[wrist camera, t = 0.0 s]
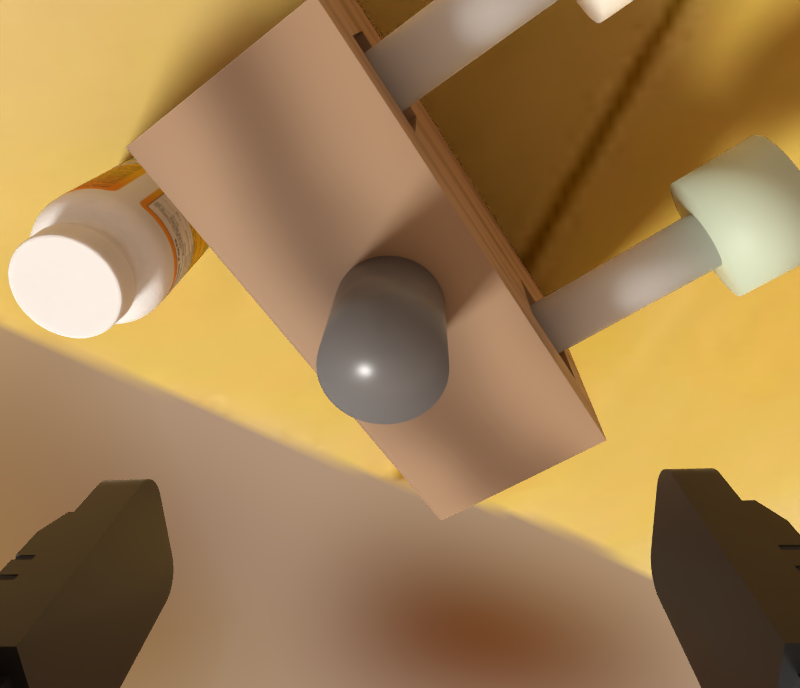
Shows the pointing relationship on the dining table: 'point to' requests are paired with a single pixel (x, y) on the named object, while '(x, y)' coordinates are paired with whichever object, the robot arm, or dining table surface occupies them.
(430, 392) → the dark grey cylinder
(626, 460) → the dining table surface
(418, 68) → the knob cream
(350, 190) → the brown wooden block
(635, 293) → the knob sage
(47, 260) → the supplement bottle
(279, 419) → the dining table surface
